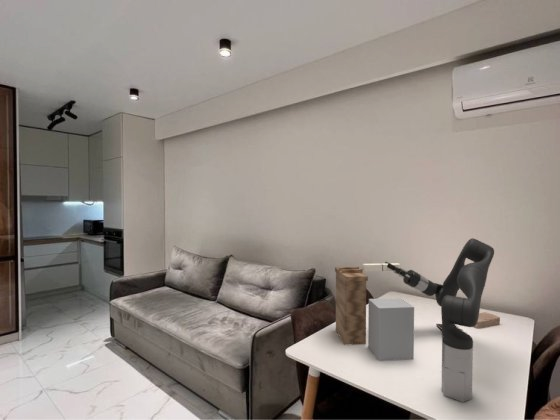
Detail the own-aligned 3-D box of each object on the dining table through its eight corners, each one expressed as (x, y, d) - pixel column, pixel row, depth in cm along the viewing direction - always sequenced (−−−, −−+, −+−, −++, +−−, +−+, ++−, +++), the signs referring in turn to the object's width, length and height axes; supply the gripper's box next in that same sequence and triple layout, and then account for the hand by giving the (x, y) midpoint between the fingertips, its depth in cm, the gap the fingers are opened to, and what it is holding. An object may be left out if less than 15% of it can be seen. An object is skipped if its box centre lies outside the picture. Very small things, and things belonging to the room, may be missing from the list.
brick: (477, 329, 159) (477, 320, 159) (463, 323, 167) (463, 314, 167) (500, 325, 165) (500, 316, 164) (485, 319, 173) (486, 311, 172)
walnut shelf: (353, 327, 162) (353, 263, 161) (367, 345, 142) (367, 273, 141) (334, 328, 161) (334, 264, 160) (346, 346, 141) (346, 273, 140)
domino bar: (397, 269, 154) (397, 263, 154) (400, 270, 151) (400, 264, 151) (362, 269, 152) (362, 263, 152) (364, 271, 149) (364, 265, 149)
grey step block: (400, 345, 142) (400, 297, 141) (413, 359, 130) (414, 307, 129) (368, 347, 141) (368, 298, 140) (378, 360, 129) (379, 308, 128)
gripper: (412, 270, 160) (384, 254, 159) (427, 277, 146) (396, 260, 145) (405, 283, 160) (377, 267, 159) (419, 291, 146) (388, 274, 145)
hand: (386, 264), depth 152 cm, fingers closed on domino bar, 3 cm apart
